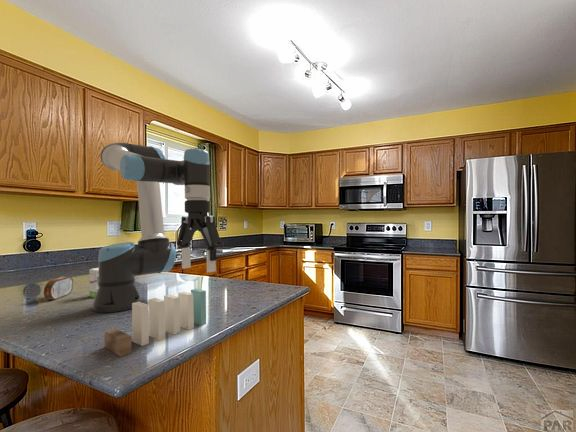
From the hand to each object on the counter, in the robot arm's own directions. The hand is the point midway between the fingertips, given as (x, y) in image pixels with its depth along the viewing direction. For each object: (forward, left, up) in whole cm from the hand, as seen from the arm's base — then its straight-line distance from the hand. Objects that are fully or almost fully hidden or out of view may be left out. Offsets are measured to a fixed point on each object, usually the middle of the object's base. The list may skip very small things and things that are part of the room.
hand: (198, 269), depth 92 cm
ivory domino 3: (0, -9, -16) cm, 19 cm away
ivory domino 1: (0, -18, -16) cm, 24 cm away
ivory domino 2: (0, -14, -16) cm, 21 cm away
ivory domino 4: (0, -5, -16) cm, 17 cm away
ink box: (-64, -3, -16) cm, 66 cm away
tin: (-76, -15, -17) cm, 79 cm away
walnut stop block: (0, -24, -16) cm, 29 cm away
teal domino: (0, 0, -16) cm, 16 cm away
